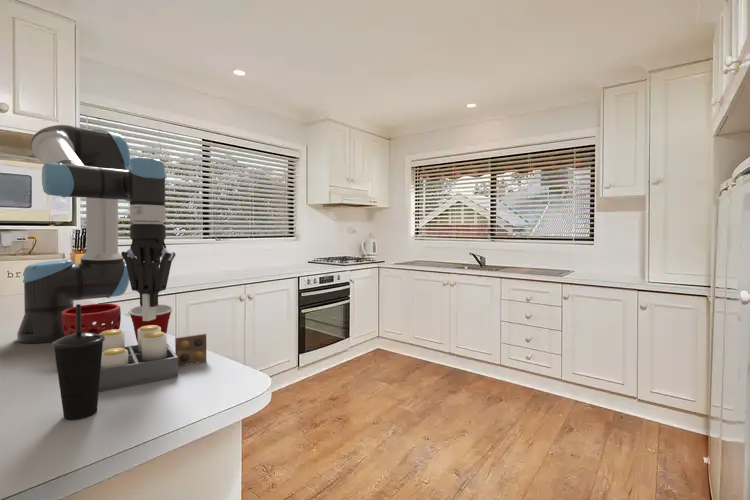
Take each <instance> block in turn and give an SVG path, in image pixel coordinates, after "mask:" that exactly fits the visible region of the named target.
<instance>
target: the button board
mask: <svg viewBox="0 0 750 500" xmlns="http://www.w3.org/2000/svg"><path fill="white" fill-rule="evenodd" d="M125 349H126V350H128V365H122V366H116V367H110V368H104V369H101V370H100V382H99V391H100V392H104V391H110V390H114V389H120V388H124V387H130V386H135V385H143V384H146V383H151V382H159V381H161V380H167V379H172V378H179V366H178V357H177V355H176V354H175V350H173V349H172V348H171V346H170V345H169V344H168V343H167V356H166V357H165V358H162V359H159V360H151V361H147V360H143V359H142V352H140V351H138V344H135V345H128V346H125Z"/></svg>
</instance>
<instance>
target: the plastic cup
mask: <svg viewBox="0 0 750 500" xmlns="http://www.w3.org/2000/svg"><path fill="white" fill-rule="evenodd" d="M173 310H174V307H173V306H172V305H169V304H160V303H158V306H156V319H154V320H150V321H143V312H142V306H140V305H138V306H134V307H132V308H129V309H128V310H127V312H128V314H129V316H130V318H131V321H132V324H133V330H134V334H135V339H136V342H137V344H138V329H139V328H140V327H143V326H148V325H157V326H159V327H161V332H164V333H166V334H167V333H168V327H169V321H170V318H171V315H172V312H173ZM167 335H168V334H167Z"/></svg>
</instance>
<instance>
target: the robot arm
mask: <svg viewBox="0 0 750 500" xmlns="http://www.w3.org/2000/svg"><path fill="white" fill-rule="evenodd" d="M30 148H31V151H32V154H33V155H34V156H35V157H36V159H38V160H39V162H42V163H43V166H42V169H41V185H42V191H43V192H44V193H45V194H46V195H48V196H57V197H61V198H67V197H68V198H85V207H86V209H85V216H86V217H85V223H86V225H85V226H86V229H85V230H86V232H85V233H86V235H85V237H86V239H85V240H86V242H85V243H86V244H85V245H86V251H85V253H84V254H83V255H82V256H80V263H74V261H73V260H72V259H69V258H68V259H57V260H49V261H48V260H47V261H41V262H36V263H33V264H32V263H31V264H29V265H27V266H26V267H25V268H24V271H23V280H22V283H23V292H24V293H23V296H24V301H23V302H24V303H23V304H24V306H23V307H24V315H23V317H22V319H21V323H20V326H19V328H18V331H17V333H16V334H17V342H18V343H22V344H40V343H50V342H54V341H55V340H58V339H60V338H62V337H64V336H65V334H64V331H63V325H62V311H64V310H66V309H68V308H72V307H74V301H81V300H83V301H84V300H93V299H104V298H105V299H106V298H107V299H110V298H113V297H115V298H116V297H121V296H122V295H124V294H125V293H126V291H127V289H128V287H129V284H130V287H131V290H132V291H133V292H134V291H135V292H137V293H138V294H139V306H142V312H143V321H150V320H154V319H156V306H158V304H159V293H160V292H163V291H166V290H167V285H168V281H169V275H170V272H171V271H170V270H171V266H172V262H173V260H174V259H175V257H176V253H175V252H174V251H173V252H171V251H170V250H168V249H167V245H166V243H165V240H166V237H167V235H166V234H167V233H166V231H167V230H166V225H165V224H164V223H166V216H167V214H166V177H167V175H166V170H165V169H166V168H165V167H166V166H165V164H164V161H162V160H160V159H157V158H151V157H141V156H140V157H138V156H137V157H132V158H131V153H130V148H129V144H128V142H127V140H126V138H125V137H124V136H123V135H121V134H119V133H116V132H111V131H109V130H107V131H106V130H101V129H93V128H85V127H81V126H79V127H78V126H75V125H74V126H73V125H67V124H60V125H59V124H56V125H51V126H46V127H44V128H41V129H40V130H38V131H36V132H35V134H34V135H33V136H32V137H31V141H30ZM120 200H121V201H126V202H129V221H130V222H131V224H130V225H129V238H130V239H131V243H130V248H129V249H127V250H126V251H121V253H120V252H119V201H120Z"/></svg>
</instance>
